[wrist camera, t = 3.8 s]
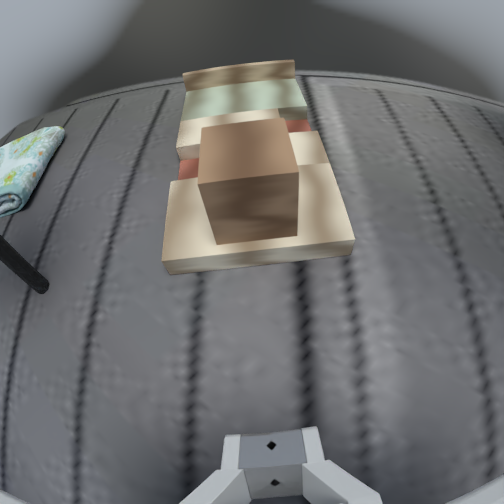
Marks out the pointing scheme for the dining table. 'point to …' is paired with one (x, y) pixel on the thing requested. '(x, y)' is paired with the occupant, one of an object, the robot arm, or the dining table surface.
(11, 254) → the solar garden light
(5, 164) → the towel
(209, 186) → the walnut block
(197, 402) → the dining table surface
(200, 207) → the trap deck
